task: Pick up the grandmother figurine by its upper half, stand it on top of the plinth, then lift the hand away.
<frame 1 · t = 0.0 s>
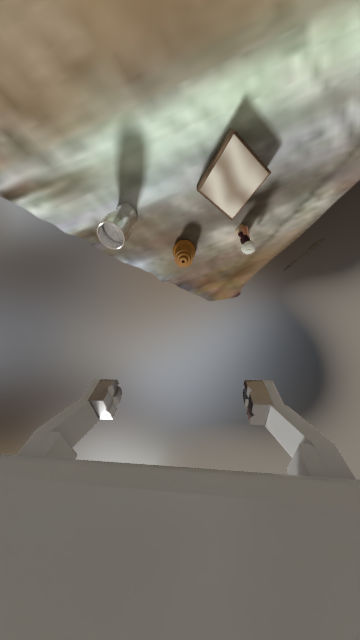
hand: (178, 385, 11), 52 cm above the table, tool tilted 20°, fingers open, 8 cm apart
ornamental finial: (184, 249, 58), on the table
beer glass: (127, 214, 51), on the table
plinth: (230, 178, 43), on the table
grandmother figurine: (241, 230, 52), on the table
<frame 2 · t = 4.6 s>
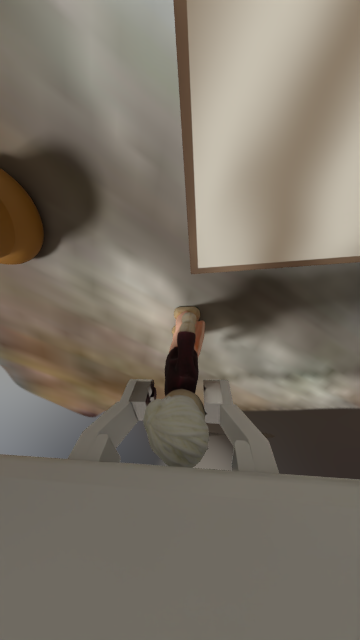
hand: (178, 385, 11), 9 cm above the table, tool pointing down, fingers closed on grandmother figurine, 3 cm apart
ornamental finial: (9, 217, 15), on the table
plinth: (275, 163, 12), on the table
grandmother figurine: (186, 318, 18), on the table, touching gripper
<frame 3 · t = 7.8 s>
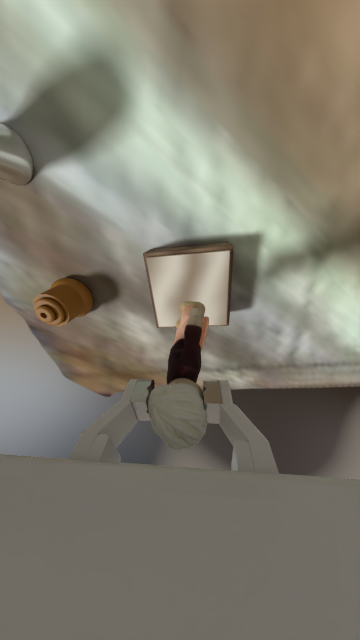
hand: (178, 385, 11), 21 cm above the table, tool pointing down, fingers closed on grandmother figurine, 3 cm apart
ornamental finial: (76, 295, 33), on the table
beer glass: (12, 157, 23), on the table
plinth: (190, 283, 29), on the table
grandmother figurine: (191, 313, 19), point 12 cm above the table, touching gripper
when the fingers open (15 cm above the table, at t = 9.5 s): grandmother figurine moves 2 cm, resting on plinth.
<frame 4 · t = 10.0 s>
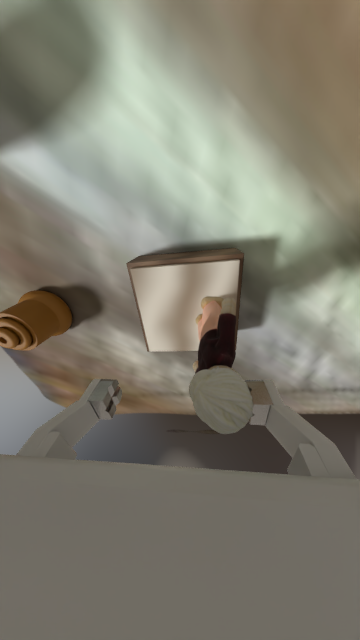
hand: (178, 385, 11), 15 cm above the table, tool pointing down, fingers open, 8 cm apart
ornamental finial: (52, 310, 27), on the table
plinth: (188, 297, 24), on the table
grandmother figurine: (211, 309, 19), point 5 cm above the table, touching gripper, plinth
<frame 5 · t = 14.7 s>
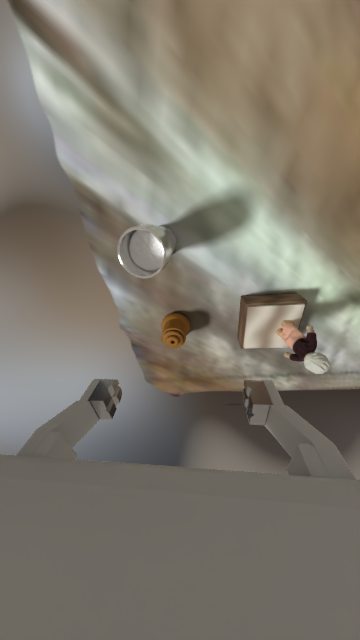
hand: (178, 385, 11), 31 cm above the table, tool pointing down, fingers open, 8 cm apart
ornamental finial: (176, 323, 45), on the table
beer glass: (162, 242, 36), on the table
plinth: (264, 317, 42), on the table
grandmother figurine: (285, 325, 37), point 5 cm above the table, touching plinth
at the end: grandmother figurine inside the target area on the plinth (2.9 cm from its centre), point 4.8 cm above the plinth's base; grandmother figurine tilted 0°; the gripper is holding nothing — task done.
